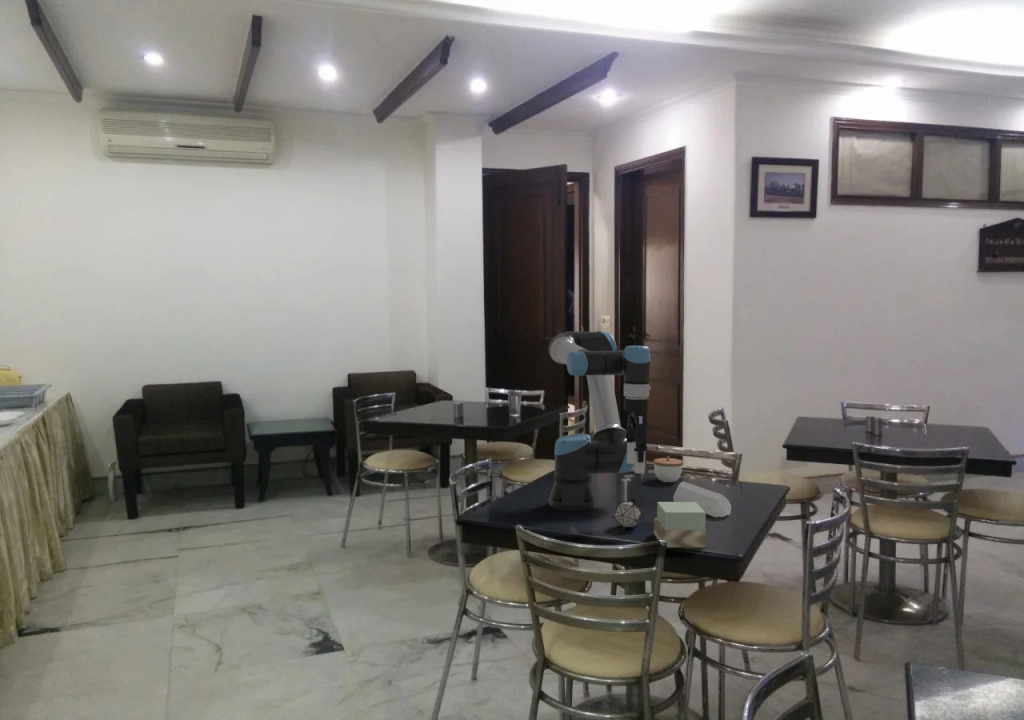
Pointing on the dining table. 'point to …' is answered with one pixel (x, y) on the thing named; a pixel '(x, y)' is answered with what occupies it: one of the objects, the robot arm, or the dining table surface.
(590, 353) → the robot arm
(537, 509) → the dining table surface
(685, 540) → the tower base block
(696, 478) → the dining table surface
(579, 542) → the dining table surface
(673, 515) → the tower top block
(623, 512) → the game die
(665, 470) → the lidded jar
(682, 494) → the chamfered grey bar
